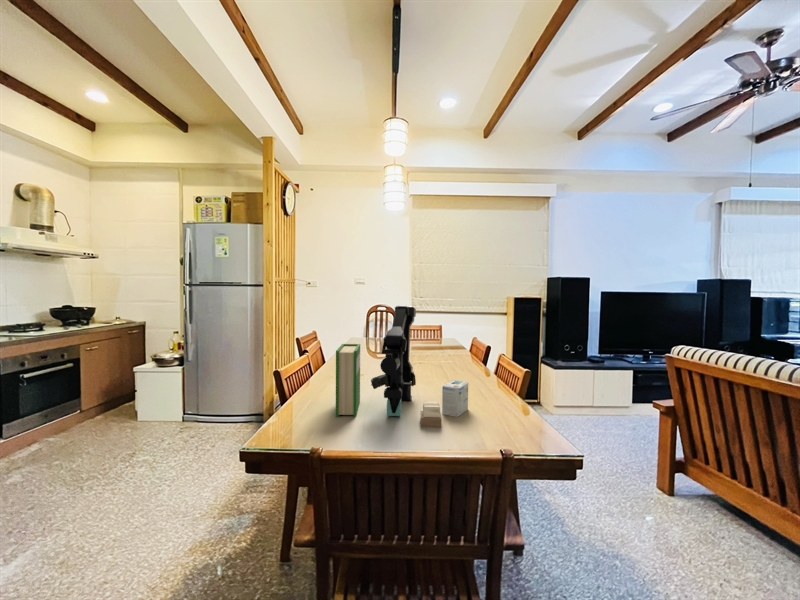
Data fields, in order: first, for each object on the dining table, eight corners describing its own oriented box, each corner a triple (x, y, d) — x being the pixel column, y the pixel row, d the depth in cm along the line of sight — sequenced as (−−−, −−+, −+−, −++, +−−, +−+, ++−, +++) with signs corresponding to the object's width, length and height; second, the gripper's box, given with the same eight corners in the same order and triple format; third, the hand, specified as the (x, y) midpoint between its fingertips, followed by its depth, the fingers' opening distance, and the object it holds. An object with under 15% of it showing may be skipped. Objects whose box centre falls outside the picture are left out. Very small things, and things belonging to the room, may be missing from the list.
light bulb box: (452, 406, 144) (452, 379, 143) (468, 409, 140) (469, 381, 140) (441, 414, 134) (441, 385, 134) (458, 417, 131) (458, 388, 131)
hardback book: (356, 417, 130) (356, 351, 130) (335, 417, 130) (335, 350, 130) (359, 402, 148) (360, 344, 147) (341, 402, 148) (342, 343, 147)
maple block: (423, 411, 127) (423, 401, 127) (438, 411, 127) (438, 402, 127) (423, 416, 122) (423, 406, 122) (439, 417, 122) (440, 406, 122)
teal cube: (387, 411, 135) (387, 397, 135) (401, 411, 135) (401, 398, 134) (386, 415, 130) (386, 401, 130) (400, 415, 130) (400, 402, 129)
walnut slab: (420, 420, 128) (420, 410, 128) (440, 421, 128) (440, 411, 128) (420, 428, 121) (420, 417, 121) (441, 428, 121) (441, 418, 121)
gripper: (375, 362, 141) (375, 402, 142) (369, 373, 123) (369, 419, 123) (403, 363, 141) (403, 402, 141) (401, 374, 122) (401, 419, 123)
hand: (394, 410), depth 132 cm, fingers closed on teal cube, 5 cm apart
